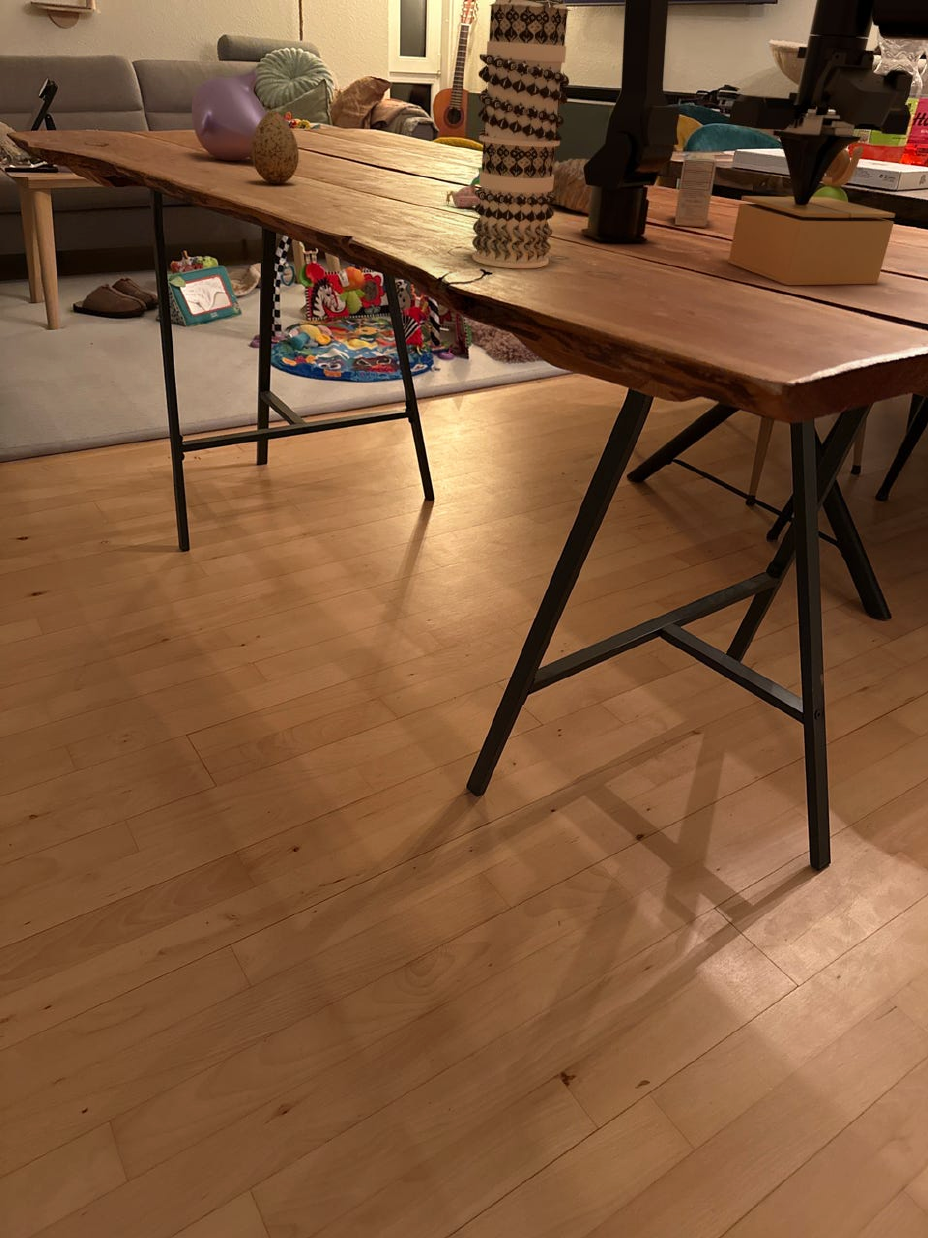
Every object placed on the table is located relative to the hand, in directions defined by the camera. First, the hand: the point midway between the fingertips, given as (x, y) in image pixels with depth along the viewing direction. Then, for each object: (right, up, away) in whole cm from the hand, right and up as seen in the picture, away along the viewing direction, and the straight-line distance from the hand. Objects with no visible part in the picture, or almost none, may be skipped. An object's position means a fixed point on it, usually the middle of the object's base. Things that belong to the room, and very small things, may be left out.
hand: (800, 204), depth 102 cm
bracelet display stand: (-32, -6, +1) cm, 32 cm away
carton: (+2, -6, +4) cm, 7 cm away
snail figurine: (+17, +13, +37) cm, 43 cm away
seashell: (-19, +16, +37) cm, 45 cm away
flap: (-1, 0, 0) cm, 1 cm away
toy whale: (-77, +36, +64) cm, 107 cm away
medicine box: (-4, +11, +32) cm, 34 cm away
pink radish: (-33, +12, +30) cm, 47 cm away
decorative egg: (-66, +22, +44) cm, 82 cm away
